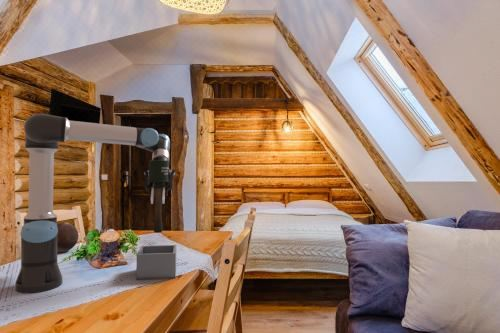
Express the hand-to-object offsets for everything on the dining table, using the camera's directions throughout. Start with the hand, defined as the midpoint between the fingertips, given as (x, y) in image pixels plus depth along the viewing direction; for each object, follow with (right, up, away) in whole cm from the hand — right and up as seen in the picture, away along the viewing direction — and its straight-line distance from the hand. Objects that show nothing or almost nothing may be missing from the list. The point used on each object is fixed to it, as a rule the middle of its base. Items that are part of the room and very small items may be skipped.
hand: (157, 201), depth 146 cm
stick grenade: (-1, -13, +4) cm, 14 cm away
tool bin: (-1, -30, +4) cm, 31 cm away
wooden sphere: (-59, -30, +39) cm, 77 cm away
